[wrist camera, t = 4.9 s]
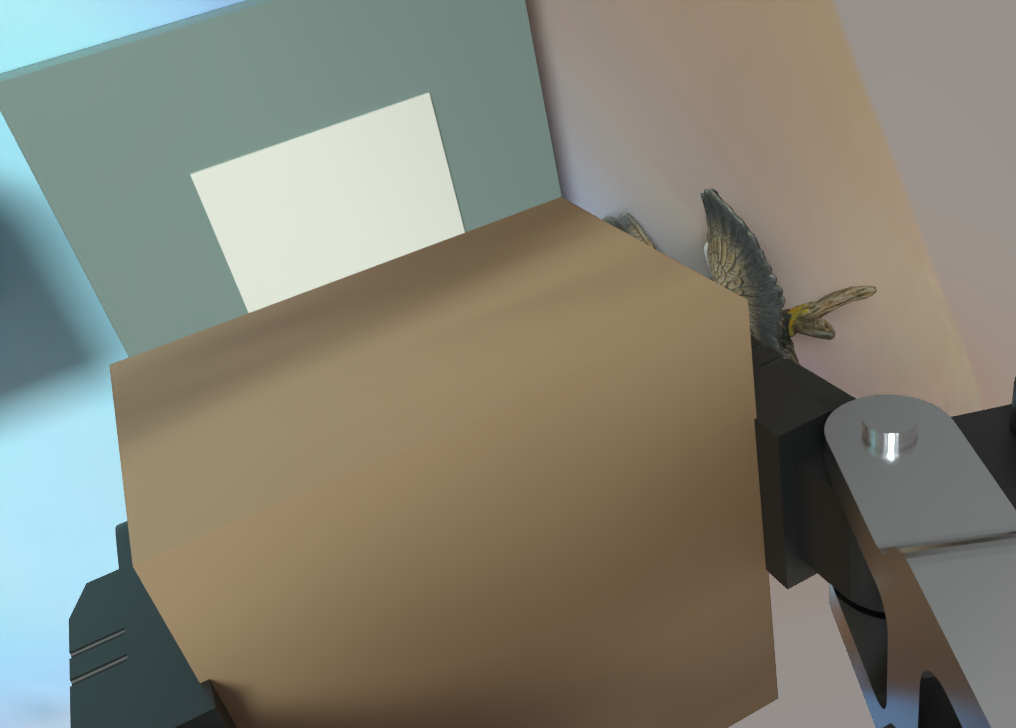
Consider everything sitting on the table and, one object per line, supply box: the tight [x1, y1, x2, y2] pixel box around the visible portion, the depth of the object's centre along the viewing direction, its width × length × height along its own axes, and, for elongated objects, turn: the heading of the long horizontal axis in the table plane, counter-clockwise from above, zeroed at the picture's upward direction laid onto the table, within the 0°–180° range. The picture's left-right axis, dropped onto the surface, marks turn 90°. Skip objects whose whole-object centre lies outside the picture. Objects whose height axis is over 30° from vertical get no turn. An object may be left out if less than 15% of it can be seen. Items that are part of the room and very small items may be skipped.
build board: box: [0, 0, 562, 358], centre depth 27 cm, size 14×14×1 cm
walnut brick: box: [110, 197, 778, 728], centre depth 11 cm, size 6×6×4 cm
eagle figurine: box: [603, 189, 877, 365], centre depth 32 cm, size 8×7×9 cm
